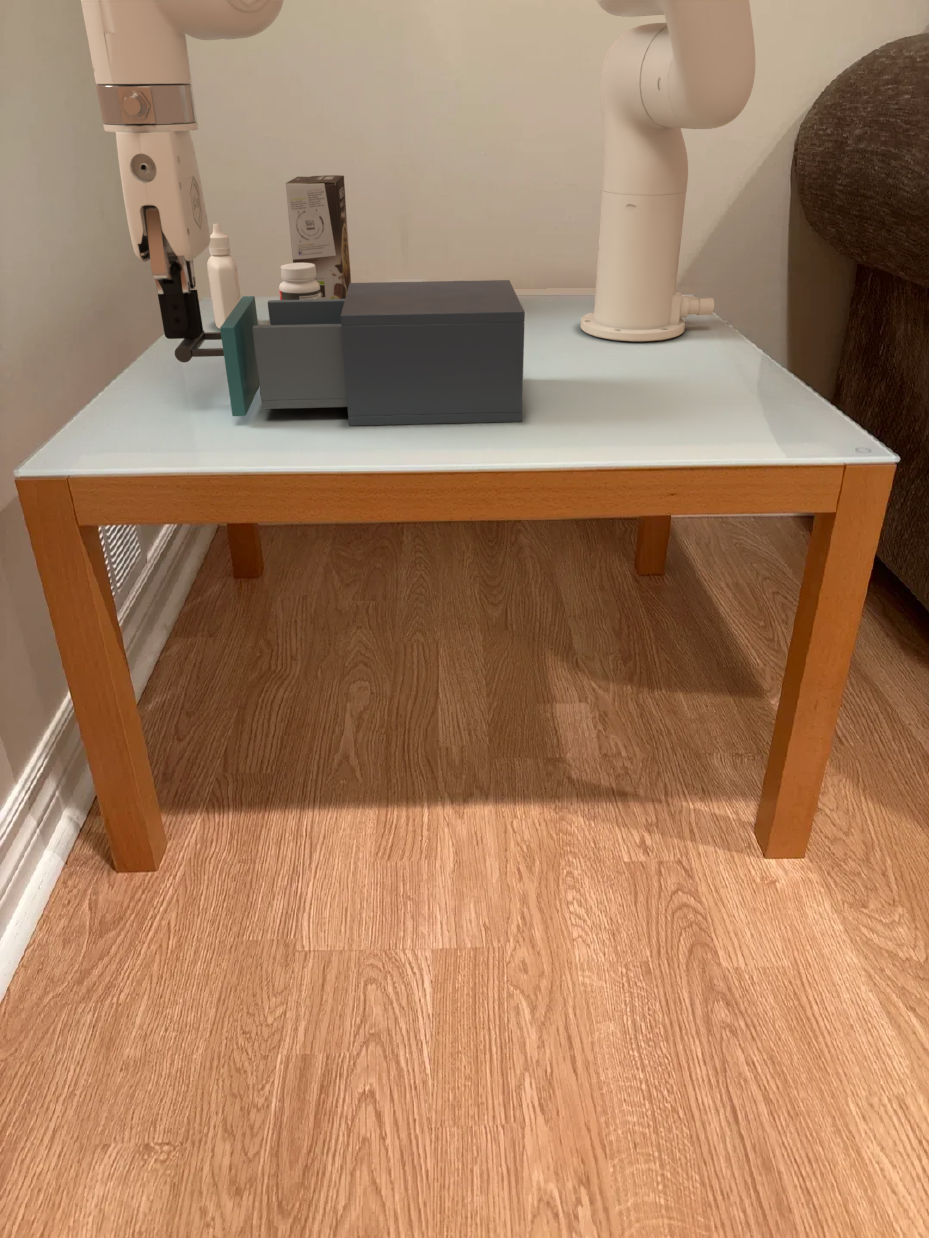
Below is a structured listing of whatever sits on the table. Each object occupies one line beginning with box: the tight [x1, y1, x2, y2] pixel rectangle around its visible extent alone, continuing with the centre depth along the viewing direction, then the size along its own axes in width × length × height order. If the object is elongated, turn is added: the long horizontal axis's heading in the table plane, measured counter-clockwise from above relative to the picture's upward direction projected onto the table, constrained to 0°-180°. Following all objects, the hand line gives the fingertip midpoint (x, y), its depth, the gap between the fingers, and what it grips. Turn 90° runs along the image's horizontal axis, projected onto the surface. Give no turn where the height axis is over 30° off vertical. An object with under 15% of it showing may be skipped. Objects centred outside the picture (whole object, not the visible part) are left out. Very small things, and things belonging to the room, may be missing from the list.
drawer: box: [174, 295, 348, 417], centre depth 86 cm, size 20×13×8 cm, turn 93°
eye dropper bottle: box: [206, 223, 242, 330], centre depth 113 cm, size 4×6×12 cm
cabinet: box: [341, 279, 526, 427], centre depth 87 cm, size 16×14×10 cm
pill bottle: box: [278, 262, 321, 300], centre depth 108 cm, size 5×5×8 cm
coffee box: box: [285, 174, 352, 299], centre depth 119 cm, size 9×6×16 cm
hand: (184, 336), depth 85 cm, fingers closed
